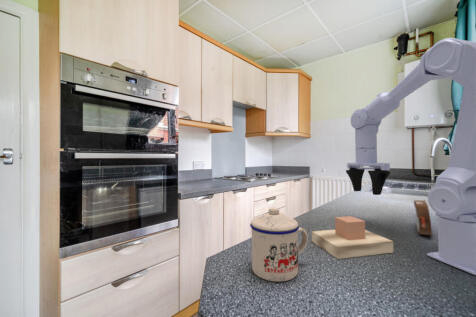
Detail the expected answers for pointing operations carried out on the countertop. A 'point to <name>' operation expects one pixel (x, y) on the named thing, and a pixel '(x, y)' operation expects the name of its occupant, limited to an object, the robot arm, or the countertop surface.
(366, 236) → the base
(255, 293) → the countertop surface
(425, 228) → the brown curved slab
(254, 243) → the teacup with lid
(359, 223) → the block
